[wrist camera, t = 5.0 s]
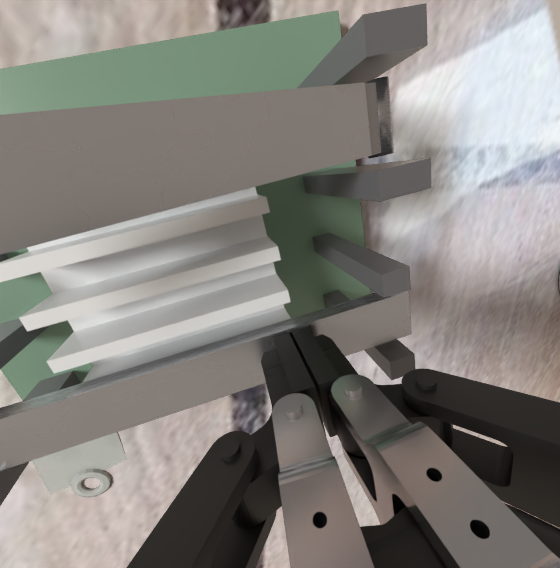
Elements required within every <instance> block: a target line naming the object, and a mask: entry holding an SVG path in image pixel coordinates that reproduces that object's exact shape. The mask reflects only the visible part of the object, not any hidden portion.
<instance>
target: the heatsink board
mask: <svg viewBox="0 0 560 568" xmlns="http://www.w3.org/2000/svg"><path fill="white" fill-rule="evenodd" d="M425 46H427V11H426V4H420V5H415V6H409V7H403V8H398V9H392V10H386V11H381V12H375V13H370V14H364V15H362V16H361V17H360V19H359V20H358V21H357V22H356V23H355V24H354V25H353V26H352V27H351V28H350V30H349V31H348V32H347V33H346V34H345V35H344V36H343V37H342V38H341V29H340V21H339V12H338V11H332V12H326V13H321V14H315V15H309V16H303V17H297V18H292V19H286V20H280V21H274V22H269V23H263V24H257V25H251V26H246V27H240V28H234V29H228V30H222V31H217V32H211V33H205V34H199V35H194V36H188V37H182V38H176V39H171V40H165V41H159V42H153V43H148V44H142V45H136V46H130V47H124V48H119V49H113V50H107V51H101V52H96V53H90V54H84V55H78V56H73V57H67V58H61V59H55V60H50V61H44V62H38V63H32V64H26V65H21V66H15V67H9V68H3V69H0V115H3V114H15V113H26V112H37V111H48V110H60V109H71V108H82V107H94V106H105V105H116V104H127V103H139V102H150V101H161V100H173V99H184V98H195V97H206V96H218V95H229V94H240V93H252V92H263V91H274V90H285V89H297V88H308V87H319V86H330V85H342V84H353V83H364V82H365V83H366V82H368V81H371V80H373V79H375V78H377V77H378V76H380V75H381V74H383V73H384V72H386V71H388V70H389V69H391V68H392V67H394V66H395V65H397V64H399V63H400V62H402V61H403V60H405V59H406V58H408V57H410V56H411V55H413V54H414V53H416V52H417V51H419V50H420V49H422V48H424V47H425ZM429 188H431V162H430V158H425V159H416V160H407V161H398V162H389V163H381V164H372V165H363V166H356V160H353V161H349V162H346V163H342V164H338V165H334V166H331V167H327V168H323V169H319V170H316V171H312V172H308V173H304V174H301V175H297V176H293V177H289V178H286V179H282V180H278V181H274V182H271V183H267V184H263V185H259V186H256V187H252V188H248V189H244V190H241V191H237V192H233V193H229V194H226V195H222V196H218V197H214V198H211V199H207V200H203V201H199V202H196V203H192V204H188V205H184V206H181V207H177V208H173V209H169V210H166V211H162V212H158V213H154V214H151V215H147V216H143V217H139V218H136V219H132V220H128V221H125V222H121V223H117V224H113V225H110V226H106V227H102V228H98V229H95V230H91V231H87V232H83V233H80V234H76V235H72V236H68V237H65V238H61V239H57V240H53V241H50V242H46V243H42V244H38V245H35V246H31V247H27V248H23V249H20V250H16V251H12V252H8V253H5V254H1V255H0V369H1V370H2V372H3V373H4V375H5V376H6V377H7V379H8V380H9V382H10V383H11V385H12V386H13V387H14V389H15V390H16V392H17V393H18V394H19V396H20V397H21V399H22V400H23V401H25V400H28V399H32V398H35V397H38V396H41V395H45V394H48V393H51V392H54V391H58V390H61V389H64V388H67V387H71V386H74V385H77V384H80V383H84V382H87V381H90V380H93V379H96V378H100V377H103V376H106V375H109V374H113V373H116V372H119V371H122V370H126V369H129V368H132V367H135V366H139V365H142V364H145V363H148V362H152V361H155V360H158V359H161V358H165V357H168V356H171V355H174V354H178V353H181V352H184V351H187V350H191V349H194V348H197V347H200V346H204V345H207V344H210V343H213V342H216V341H220V340H223V339H226V338H229V337H233V336H236V335H239V334H242V333H246V332H249V331H252V330H255V329H259V328H262V327H265V326H268V325H272V324H275V323H278V322H281V321H285V320H288V319H291V318H294V317H298V316H301V315H304V314H307V313H311V312H314V311H317V310H320V309H324V308H327V307H330V306H333V305H336V304H340V303H343V302H346V301H349V300H353V299H356V298H359V297H362V296H366V295H369V294H371V290H373V291H374V292H376V293H377V294H379V295H380V296H382V297H383V298H385V297H388V296H391V295H394V294H397V293H401V292H404V291H407V290H410V289H411V288H410V271H409V266H407V265H405V264H402V263H400V262H398V261H395V260H393V259H390V258H388V257H386V256H383V255H381V254H379V253H376V252H374V251H372V250H369V249H367V248H366V247H365V238H364V229H363V220H362V212H361V203H360V199H361V200H370V201H379V202H380V201H384V200H388V199H391V198H395V197H399V196H403V195H406V194H410V193H414V192H418V191H421V190H425V189H429ZM370 289H371V290H370ZM365 351H366V353H367V354H368V355H369V356H370V357H371V358H372V359H373V360H374V361H375V362H376V364H377V365H378V366H379V367H380V368H381V369H382V370H383V371H384V372H385V373H386V375H387V376H388V377H389V378H390V379H391V380H394V379H397V378H400V377H402V376H404V375H405V374H406V373H408V372H409V371H412V370H415V356H414V353H413V352H411V351H410V350H409V349H408V348H407V347H406V346H404V345H403V344H402V343H401V342H400V341H398V340H397V339H395V340H392V341H389V342H386V343H383V344H380V345H377V346H374V347H371V348H368V349H365ZM28 463H29V462H26V463H23V464H20V465H17V466H14V467H11V468H8V469H5V470H2V471H0V505H1V504H2V502H3V501H4V499H5V498H6V496H7V495H8V493H9V492H10V490H11V489H12V487H13V486H14V484H15V483H16V481H17V480H18V478H19V476H20V475H21V473H22V472H23V470H24V469H25V467H26V466H27V464H28Z"/></svg>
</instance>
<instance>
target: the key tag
mask: <svg viewBox="0 0 560 568" xmlns="http://www.w3.org/2000/svg"><path fill="white" fill-rule="evenodd" d="M126 459H127V458H126V455H125V452H124V449H123V447H122V444H121V441H120V438H119V435H118V433H117V432H116V433H113V434H110V435H107V436H104V437H101V438H98V439H95V440H92V441H89V442H86V443H83V444H80V445H77V446H74V447H71V448H68V449H65V450H62V451H59V452H56V453H53V454H50V455H47V456H44V457H41V458H38V459H35V460H32V462H33V464H34V466H35V468H36V469H37V471H38V473H39V475H40V477H41V479H42V481H43V482H44V484H45V486H46V488H47V490H48V492H49V494H50V495H52V494H54V493H56V492H58V491H60V490H62V489H64V488H67V487H69V486H71V487H72V490H73V491H74V493H75V494H77V495H79V496H82V497H94V496H98V495H100V494H103V493H104V492H105V491H106V490H107V489H108V488H109V486H110V484H111V477H110V475H109V474H108V473H107V472H105V471H103V470H105V469H107V468H109V467H112V466H114V465H116V464H118V463H120V462H122V461H124V460H126ZM87 478H97V479H99V480H100V482H101V485H100V486H99V487H97V488H94V489H88V488H85V487H83V485H82V483H81V482H82V481H83V480H84V479H87Z"/></svg>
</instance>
